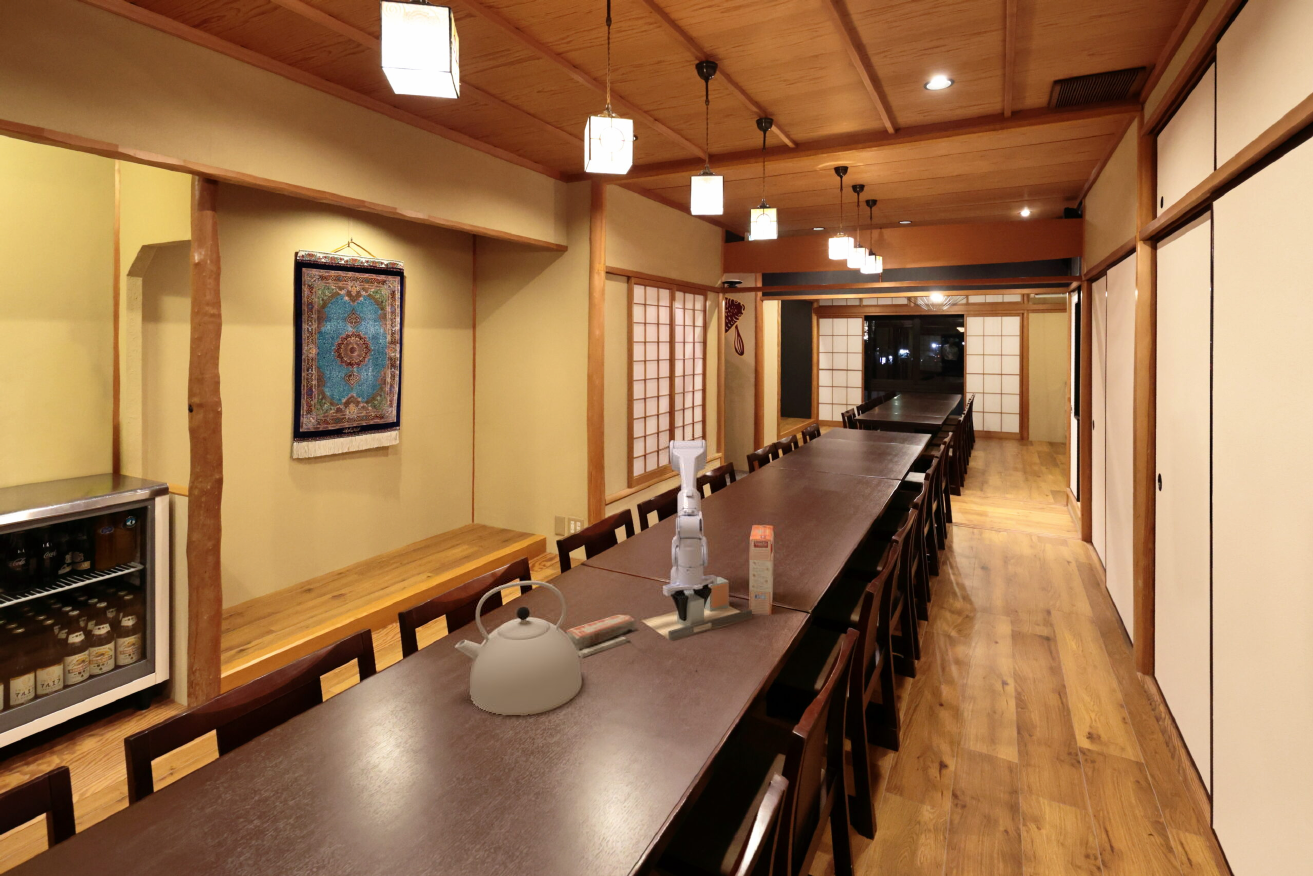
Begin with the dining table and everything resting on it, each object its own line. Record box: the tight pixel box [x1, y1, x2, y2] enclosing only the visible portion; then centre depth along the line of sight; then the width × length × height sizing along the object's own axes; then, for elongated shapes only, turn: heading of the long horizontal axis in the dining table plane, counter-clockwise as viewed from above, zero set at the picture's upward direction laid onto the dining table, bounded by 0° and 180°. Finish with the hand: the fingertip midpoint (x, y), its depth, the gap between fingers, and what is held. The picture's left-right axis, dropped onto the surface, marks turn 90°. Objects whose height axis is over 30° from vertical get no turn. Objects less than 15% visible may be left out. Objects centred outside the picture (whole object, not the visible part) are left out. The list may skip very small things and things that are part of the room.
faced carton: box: [704, 576, 730, 612], centre depth 175 cm, size 4×6×7 cm
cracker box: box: [748, 524, 775, 616], centre depth 176 cm, size 14×6×21 cm, turn 168°
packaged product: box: [565, 614, 636, 659], centre depth 160 cm, size 18×5×10 cm
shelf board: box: [641, 605, 753, 641], centre depth 168 cm, size 14×24×3 cm, turn 121°
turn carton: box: [676, 592, 704, 627], centre depth 165 cm, size 4×6×7 cm
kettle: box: [454, 580, 583, 716], centre depth 137 cm, size 25×23×22 cm
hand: (690, 617), depth 165 cm, fingers closed on turn carton, 4 cm apart
